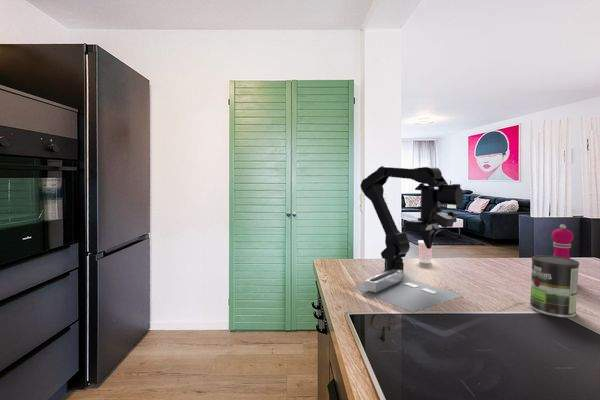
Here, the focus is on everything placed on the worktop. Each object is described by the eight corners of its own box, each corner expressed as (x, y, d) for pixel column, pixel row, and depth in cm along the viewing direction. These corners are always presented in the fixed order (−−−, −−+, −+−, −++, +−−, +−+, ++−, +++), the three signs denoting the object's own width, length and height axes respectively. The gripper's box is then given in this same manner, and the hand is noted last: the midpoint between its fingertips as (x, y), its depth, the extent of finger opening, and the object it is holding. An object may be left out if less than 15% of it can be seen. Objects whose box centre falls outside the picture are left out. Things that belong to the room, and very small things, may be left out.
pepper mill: (578, 284, 112) (581, 226, 111) (554, 283, 114) (556, 225, 112) (566, 278, 119) (568, 223, 118) (543, 277, 121) (545, 222, 119)
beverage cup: (432, 260, 146) (432, 229, 145) (433, 264, 140) (433, 231, 139) (417, 259, 148) (418, 228, 147) (417, 263, 142) (418, 230, 141)
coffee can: (550, 318, 86) (553, 264, 85) (520, 303, 96) (522, 255, 95) (587, 317, 86) (590, 263, 86) (554, 302, 97) (556, 254, 96)
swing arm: (394, 276, 117) (394, 267, 117) (405, 279, 115) (405, 269, 114) (364, 289, 104) (364, 279, 104) (375, 292, 101) (375, 281, 101)
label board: (352, 290, 108) (352, 286, 108) (401, 278, 120) (401, 275, 120) (412, 315, 88) (412, 311, 88) (463, 298, 100) (463, 295, 100)
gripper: (432, 206, 102) (431, 256, 103) (467, 203, 112) (466, 249, 113) (403, 204, 112) (403, 250, 113) (438, 201, 122) (438, 244, 123)
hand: (428, 248), depth 115 cm, fingers closed
